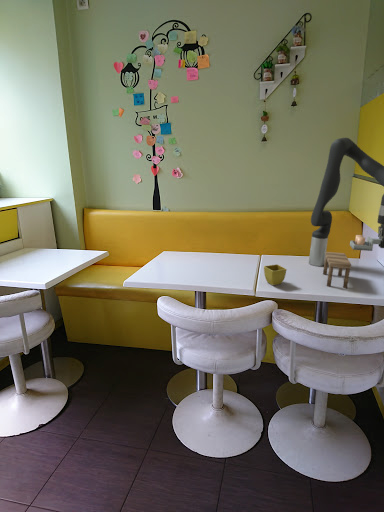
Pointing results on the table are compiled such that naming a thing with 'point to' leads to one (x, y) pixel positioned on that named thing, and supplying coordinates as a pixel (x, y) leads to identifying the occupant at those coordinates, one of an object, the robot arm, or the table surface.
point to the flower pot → (274, 274)
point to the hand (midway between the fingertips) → (381, 247)
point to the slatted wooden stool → (336, 261)
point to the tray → (367, 245)
